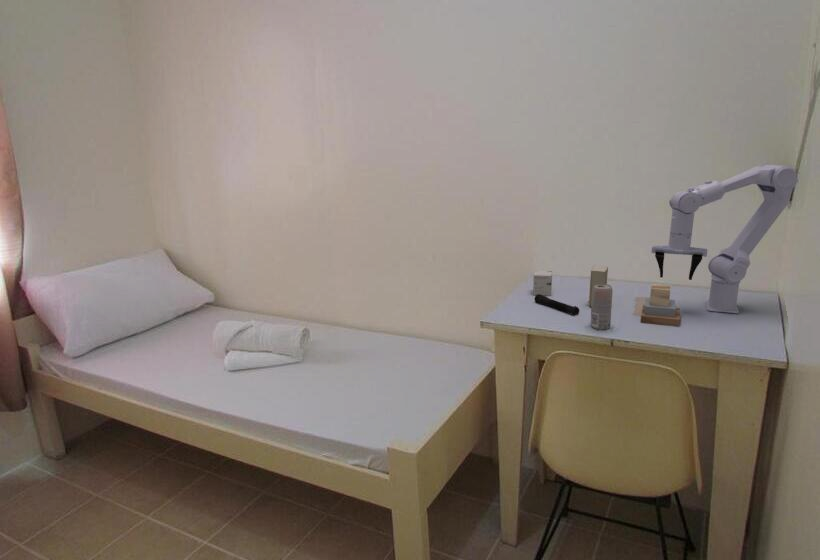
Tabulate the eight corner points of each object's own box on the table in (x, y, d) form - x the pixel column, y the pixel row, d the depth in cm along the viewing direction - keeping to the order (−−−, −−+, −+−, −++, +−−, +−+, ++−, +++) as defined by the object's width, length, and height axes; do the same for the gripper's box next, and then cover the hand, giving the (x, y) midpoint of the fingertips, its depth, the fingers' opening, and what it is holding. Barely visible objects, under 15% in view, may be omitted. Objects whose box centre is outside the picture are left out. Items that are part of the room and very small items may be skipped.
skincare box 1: (532, 295, 179) (533, 274, 177) (534, 290, 185) (534, 270, 183) (551, 296, 177) (551, 275, 175) (551, 290, 183) (552, 270, 181)
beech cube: (650, 299, 155) (651, 283, 154) (668, 301, 153) (670, 285, 152) (649, 305, 151) (650, 288, 149) (668, 306, 149) (670, 290, 147)
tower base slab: (642, 312, 159) (643, 305, 158) (679, 316, 155) (679, 308, 154) (640, 324, 151) (641, 315, 150) (679, 328, 146) (680, 319, 145)
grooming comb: (630, 297, 173) (630, 295, 173) (663, 301, 168) (664, 299, 168) (620, 315, 159) (620, 312, 158) (656, 320, 153) (656, 317, 153)
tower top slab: (644, 305, 158) (645, 298, 157) (674, 308, 154) (674, 300, 154) (644, 314, 151) (645, 306, 150) (675, 317, 147) (675, 309, 147)
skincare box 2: (592, 300, 170) (593, 265, 167) (606, 302, 168) (608, 266, 165) (588, 306, 165) (590, 270, 162) (603, 308, 163) (605, 271, 160)
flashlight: (541, 301, 173) (541, 293, 172) (579, 315, 160) (580, 305, 159) (534, 303, 172) (534, 294, 171) (572, 317, 158) (573, 308, 157)
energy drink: (605, 322, 152) (608, 283, 148) (613, 329, 147) (615, 288, 143) (587, 323, 152) (589, 284, 148) (594, 330, 147) (596, 289, 143)
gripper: (653, 234, 151) (648, 279, 155) (710, 237, 145) (704, 283, 149) (653, 229, 157) (649, 273, 161) (708, 232, 151) (702, 277, 155)
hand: (675, 277), depth 155 cm, fingers open, 7 cm apart
